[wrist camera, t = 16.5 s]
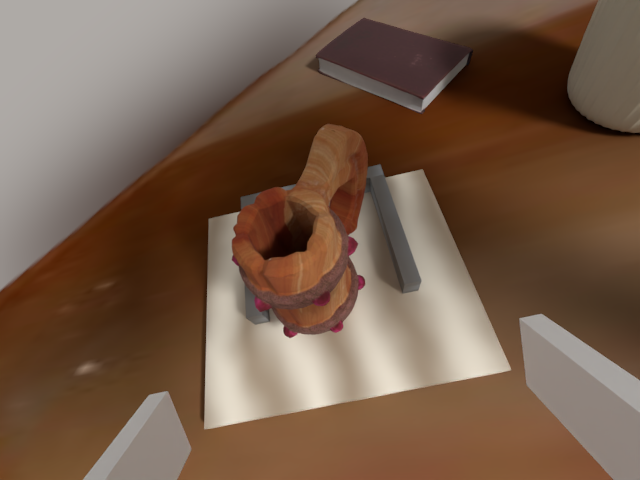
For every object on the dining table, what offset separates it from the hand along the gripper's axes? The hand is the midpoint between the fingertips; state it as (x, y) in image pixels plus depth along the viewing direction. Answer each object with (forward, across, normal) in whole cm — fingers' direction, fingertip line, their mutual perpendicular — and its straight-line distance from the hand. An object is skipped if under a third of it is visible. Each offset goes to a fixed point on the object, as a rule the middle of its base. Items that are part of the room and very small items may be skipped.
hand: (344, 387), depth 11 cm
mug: (+20, -1, -3) cm, 20 cm away
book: (+43, +14, +20) cm, 50 cm away
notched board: (+21, -1, -4) cm, 21 cm away
